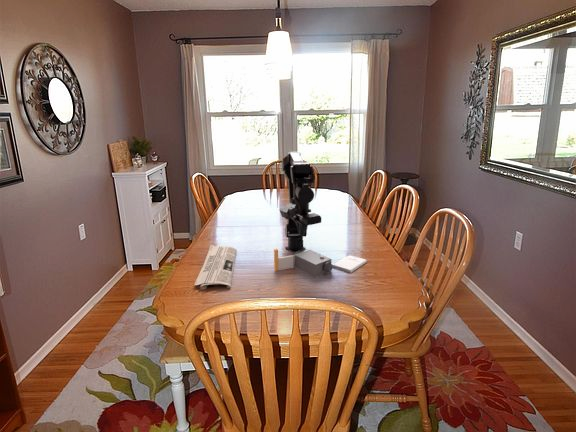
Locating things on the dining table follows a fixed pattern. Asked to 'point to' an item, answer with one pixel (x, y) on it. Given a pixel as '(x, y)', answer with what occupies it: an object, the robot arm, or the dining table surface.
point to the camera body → (313, 263)
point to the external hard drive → (349, 263)
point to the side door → (283, 261)
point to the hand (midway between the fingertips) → (301, 235)
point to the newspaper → (217, 267)
